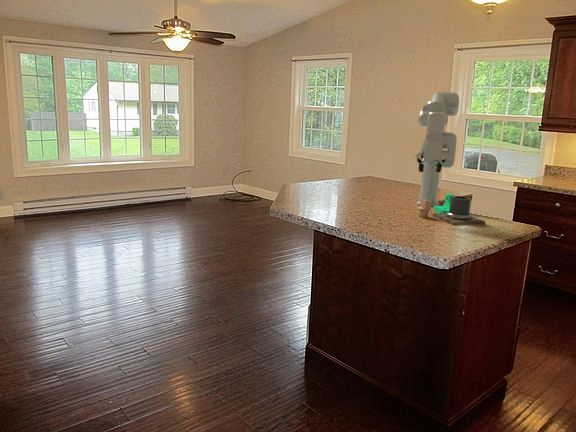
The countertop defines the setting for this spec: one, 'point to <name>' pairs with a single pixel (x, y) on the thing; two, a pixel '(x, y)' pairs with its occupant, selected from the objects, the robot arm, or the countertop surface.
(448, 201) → the camera mount
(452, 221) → the mount board
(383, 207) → the countertop surface
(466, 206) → the black hollow cylinder
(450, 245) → the countertop surface
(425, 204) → the tan knob
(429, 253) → the countertop surface
